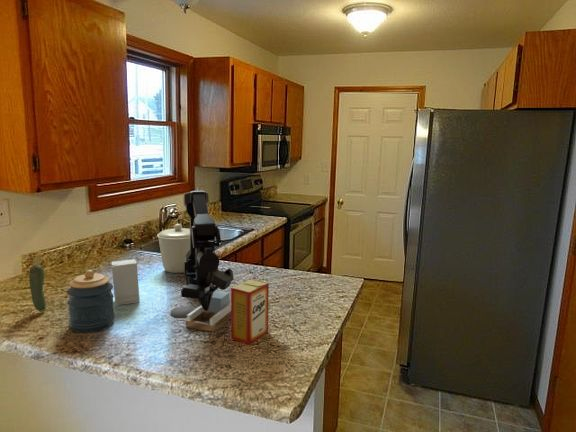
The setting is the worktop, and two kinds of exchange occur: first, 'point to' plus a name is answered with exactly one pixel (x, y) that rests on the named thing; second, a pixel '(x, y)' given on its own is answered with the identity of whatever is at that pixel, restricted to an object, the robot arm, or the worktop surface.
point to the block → (219, 301)
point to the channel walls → (214, 318)
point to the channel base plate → (207, 321)
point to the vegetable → (37, 284)
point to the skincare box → (125, 282)
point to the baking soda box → (249, 311)
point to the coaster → (181, 311)
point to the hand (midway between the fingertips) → (206, 310)
